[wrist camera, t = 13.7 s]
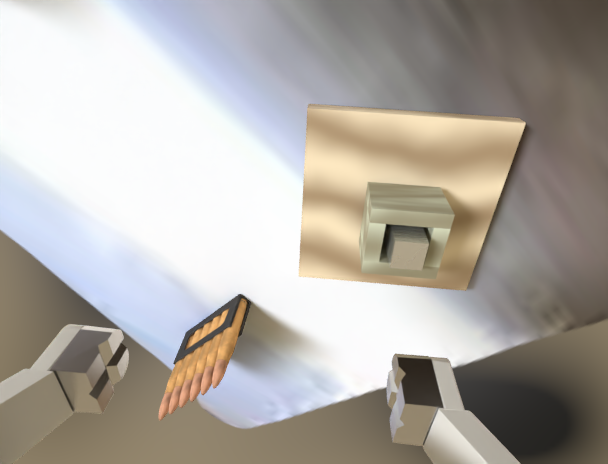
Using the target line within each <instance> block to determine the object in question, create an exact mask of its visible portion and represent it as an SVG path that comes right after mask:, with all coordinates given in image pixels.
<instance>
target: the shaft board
mask: <svg viewBox="0 0 608 464" xmlns="http://www.w3.org/2000/svg"><path fill="white" fill-rule="evenodd" d="M525 124H526V123H525V122H524V121H522V120H521V119H519V118H510V117H495V116H481V115H466V114H451V113H437V112H422V111H407V110H393V109H378V108H363V107H349V106H334V105H319V104H309V105H308V110H307V129H306V148H305V167H304V186H303V205H302V224H301V243H300V262H299V276H300V277H312V278H323V279H335V280H347V281H359V282H370V283H382V284H394V285H406V286H418V287H429V288H441V289H453V290H465V291H466V289H467V286H468V284H469V281H470V278H471V275H472V272H473V270H474V267H475V264H476V261H477V258H478V256H479V253H480V250H481V247H482V245H483V242H484V239H485V236H486V233H487V231H488V228H489V225H490V222H491V219H492V217H493V214H494V211H495V208H496V205H497V203H498V200H499V197H500V194H501V191H502V189H503V186H504V183H505V180H506V177H507V175H508V172H509V169H510V166H511V164H512V161H513V158H514V155H515V152H516V150H517V147H518V144H519V141H520V138H521V136H522V133H523V130H524V127H525ZM368 182H377V183H391V184H404V185H417V186H431V187H440V188H441V190H442V192H443V193H444V195H445V197H446V199H447V201H448V203H449V205H450V207H451V209H452V210H453V212H454V214H455V216H454V220H453V223H452V226H451V230H450V233H449V236H448V240H447V243H446V246H445V250H444V253H443V257H442V260H441V263H440V267H439V270H438V273H437V277H436V279H426V278H414V277H403V276H391V275H379V274H367V273H362V272H361V261H360V249H359V237H360V230H361V224H362V217H363V210H364V204H365V197H366V190H367V184H368ZM384 241H385V247H386V252H387V257H388V262H389V268H397V269H409V270H421V271H422V269H423V265H424V261H425V257H426V254H427V250H428V246H429V242H428V239H427V237H426V234H425V231H424V228H423V227H417V226H405V225H392V224H386V227H385V232H384Z"/></svg>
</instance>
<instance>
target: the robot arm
mask: <svg viewBox="0 0 608 464" xmlns="http://www.w3.org/2000/svg"><path fill="white" fill-rule="evenodd" d="M123 338H124V337H123V334H122V331H121V330H118V329H110V328H101V327H92V326H83V325H73V324H69V325H67V326H65V327H64V328H63V329H62V330H61V331H60V333H59V334H58V335H57V336H56V337H55V339H54V340H53V341H52V343H51V344H50V345H49V346H48V347H47V349H46V350H45V351H44V352H43V354H42V355H41V356H40V357H39V359H38V360H37V361H36V362H35V363H34V365H33V366H32V367H31V369H24V370H22V371H20V372H18V373H17V374H15V375H13V376H11V377H10V378H8V379H6V380H4V381H3V382H1V383H0V464H13V463H14V462H16V461H17V460H18V459H19V458H20V457H21V456H23V455H24V454H25V453H26V452H28V451H29V450H30V449H31V448H32V447H34V446H35V445H36V444H37V443H38V442H40V441H41V440H42V439H43V438H44V437H46V436H47V435H48V434H49V433H50V432H52V431H53V430H54V429H55V428H56V427H58V426H59V425H60V424H61V423H63V422H64V421H65V420H66V419H67V418H69V417H70V416H71V415H72V414H73V412H86V413H100V414H103V412H104V410H105V408H106V406H107V405H108V403H109V401H110V399H111V398H112V396H113V394H114V390H113V385H114V384H116V383H117V382H118V381H120V380H121V379H122V377H123V376H124V374H125V372H126V369H127V365H128V362H129V353H128V350H127V347H125V346H124V345H123V344H122V343H121V342H122V340H123ZM392 368H393V370H391V371H390V372H389V375H388V379H387V401H388V405H389V407H390V408H391V409H392V413H391V417H390V426H391V434H392V441H393V442H394V443H402V444H410V445H418V446H423V449H424V450H425V452H426V453H427V455H428V456H429V458H430V459H431V461H432V462H433V464H520V463H519V462H518V461H517V460H516V458H515V457H514V456H513V455H512V454H511V453H510V452H509V451H508V450H507V449H506V448H505V447H504V446H503V445H502V444H501V443H500V442H499V441H498V440H497V439H496V438H495V437H494V435H493V434H491V432H489V430H488V429H487V428H486V427H485V426H484V425H483V424H482V423H481V422H480V421H479V420H478V419H477V418H476V417H475V416H474V415H473V414H472V413H471V412H470V411H466V410H464V406H463V403H462V400H461V397H460V394H459V390H458V387H457V384H456V381H455V377H454V374H453V370H452V367H451V364H450V361H449V360H448V359H447V358H437V357H428V356H417V355H404V354H395V355H394V356H393V359H392Z"/></svg>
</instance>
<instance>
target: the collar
mask: <svg viewBox="0 0 608 464" xmlns="http://www.w3.org/2000/svg"><path fill="white" fill-rule="evenodd" d="M454 216H455V214H454V212H453V210H452V209H451V207H450V205H449V203H448V201H447V199H446V197H445V195H444V193H443V192H442V190H441V188H440V187H431V186H417V185H404V184H391V183H377V182H368V184H367V190H366V197H365V204H364V210H363V217H362V224H361V230H360V237H359V249H360V261H361V272H362V273H367V274H379V275H391V276H403V277H414V278H426V279H436V277H437V273H438V270H439V267H440V263H441V260H442V257H443V253H444V250H445V246H446V243H447V240H448V236H449V233H450V230H451V226H452V223H453V220H454ZM386 224H392V225H405V226H417V227H423V228H424V231H425V234H426V237H427V239H428V242H429V246H428V250H427V254H426V257H425V261H424V265H423V269H422V271H421V270H409V269H397V268H389V262H388V257H387V252H386V247H385V241H384V232H385V227H386Z"/></svg>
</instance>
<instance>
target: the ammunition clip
mask: <svg viewBox="0 0 608 464" xmlns="http://www.w3.org/2000/svg"><path fill="white" fill-rule="evenodd" d="M250 305H251V302H250V301H248V300H247V299H246V298H245V297H244V296H242V295H241V294H239V295H238V296H236V297H235V298H233V299H232V300H231V301H229V302H228V303H226V304H225V305H224V306H222V307H221V308H219V309H218V310H217V311H215V312H214V313H213V314H211V315H210V316H208V317H207V318H206V319H204V320H203V321H201V322H200V323H199V324H197V325H196V326H194V327H193V328H192V329H190V330H189V331H187V332H186V334H185V337H184V339H183V342H182V344H181V346H180V349H179V351H178V353H177V356H176V358H175V361H174V363H173V364H175V367H174V369H173V371H172V374H171V376H170V378H169V381H168V384H167V389H166V391H165V395H164V397H163V400H162V403H161V406H160V410H159V420H162V419H163V418H164V417H165V415H166V414H167V412H168V411H169V414H172V413H173V412H174V411H175V410H176V408H177V407H178V405H180V408H182V407H183V406H184V405H185V404H186V403H187V401H188V400H189V398H190V401H191V402H192V401H194V400H195V398H196V397H197V396H198V394H199V392H200V391H201V394H202V395H204V394H205V393H206V392H207V391H208V389H209V388H210V386H211V384H212V385H213V388H216V387H217V386H218V385H219V383H220V381H221V380H222V378H223V376H224V374H225V371H226V368H227V365H228V363H229V360H230V358H231V356H232V354H233V352H234V349H235V345H236V342H237V338H238V337H239V336H241V334H242V331H243V328H244V325H245V321H246V318H247V315H248V312H249V308H250Z"/></svg>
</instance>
